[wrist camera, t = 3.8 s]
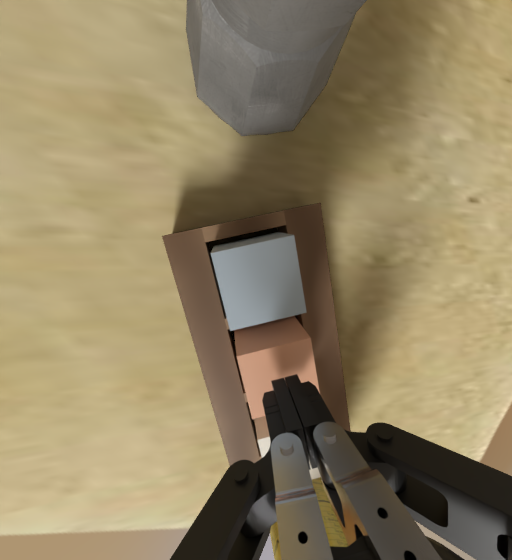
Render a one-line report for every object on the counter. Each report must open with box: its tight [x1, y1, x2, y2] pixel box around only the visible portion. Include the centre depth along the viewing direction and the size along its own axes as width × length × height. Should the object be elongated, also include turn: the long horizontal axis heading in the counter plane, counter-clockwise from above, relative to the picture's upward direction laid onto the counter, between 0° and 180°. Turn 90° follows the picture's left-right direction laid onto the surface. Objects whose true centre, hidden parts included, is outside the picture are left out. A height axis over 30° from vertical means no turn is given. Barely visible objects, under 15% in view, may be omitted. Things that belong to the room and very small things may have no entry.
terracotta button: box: [234, 316, 320, 419], centre depth 17 cm, size 4×4×4 cm
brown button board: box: [162, 203, 351, 466], centre depth 19 cm, size 10×19×3 cm, turn 11°
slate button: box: [211, 232, 307, 331], centre depth 15 cm, size 4×4×4 cm
